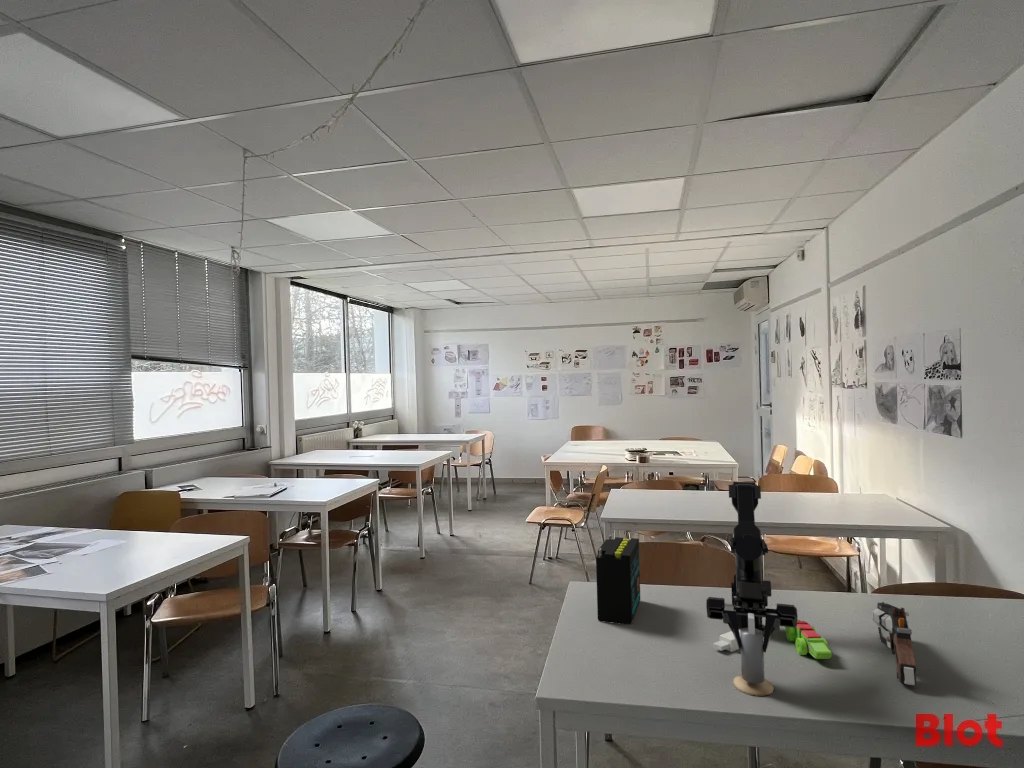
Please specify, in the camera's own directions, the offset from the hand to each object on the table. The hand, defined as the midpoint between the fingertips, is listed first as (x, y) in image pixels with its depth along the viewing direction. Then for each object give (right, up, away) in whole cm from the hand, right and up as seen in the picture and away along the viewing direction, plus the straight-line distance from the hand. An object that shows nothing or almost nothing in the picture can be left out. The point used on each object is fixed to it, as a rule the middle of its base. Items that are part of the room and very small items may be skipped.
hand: (752, 650), depth 124 cm
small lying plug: (+3, -9, +20) cm, 22 cm away
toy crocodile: (+22, -8, +19) cm, 30 cm away
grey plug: (+1, -7, +1) cm, 7 cm away
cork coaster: (+1, -8, +1) cm, 8 cm away
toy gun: (+38, -8, +11) cm, 41 cm away
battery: (-20, -10, +46) cm, 51 cm away
